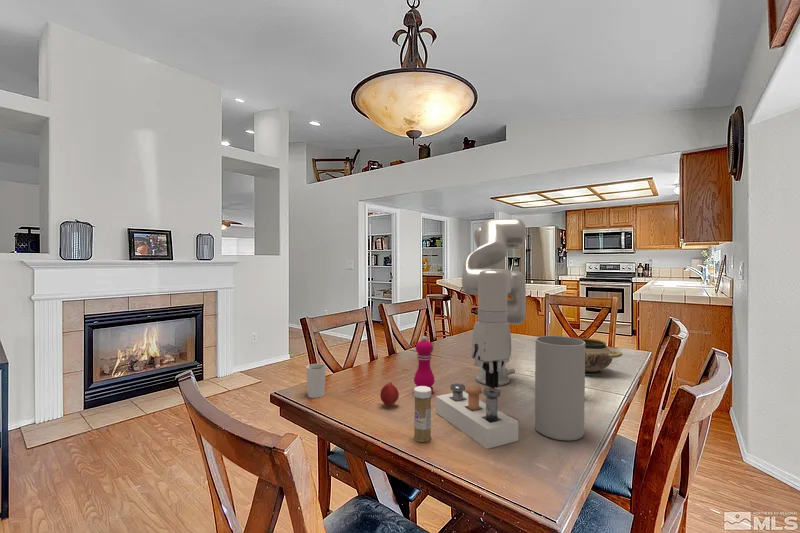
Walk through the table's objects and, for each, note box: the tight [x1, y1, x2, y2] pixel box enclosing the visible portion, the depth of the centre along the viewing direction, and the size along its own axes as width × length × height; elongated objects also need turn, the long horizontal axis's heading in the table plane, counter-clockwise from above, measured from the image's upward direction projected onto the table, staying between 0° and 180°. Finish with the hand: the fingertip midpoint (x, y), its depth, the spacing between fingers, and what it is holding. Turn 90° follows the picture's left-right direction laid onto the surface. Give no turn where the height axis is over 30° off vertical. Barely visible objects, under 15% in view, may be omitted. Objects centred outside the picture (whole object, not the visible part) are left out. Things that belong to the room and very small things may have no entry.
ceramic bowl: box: [579, 338, 623, 376], centre depth 159 cm, size 24×18×15 cm
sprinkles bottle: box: [413, 386, 432, 443], centre depth 101 cm, size 5×5×14 cm
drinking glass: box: [305, 363, 327, 399], centre depth 133 cm, size 7×7×10 cm
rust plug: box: [465, 385, 483, 412], centre depth 109 cm, size 4×4×8 cm
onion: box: [380, 380, 400, 407], centre depth 123 cm, size 6×6×8 cm
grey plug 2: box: [482, 387, 502, 423], centre depth 102 cm, size 4×4×8 cm
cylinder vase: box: [534, 335, 586, 442], centre depth 106 cm, size 12×12×25 cm
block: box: [435, 391, 519, 450], centre depth 109 cm, size 10×25×5 cm, turn 25°
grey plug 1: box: [450, 383, 466, 402], centre depth 117 cm, size 4×4×8 cm
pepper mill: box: [413, 335, 436, 395], centre depth 135 cm, size 7×7×20 cm
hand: (491, 386), depth 102 cm, fingers closed
